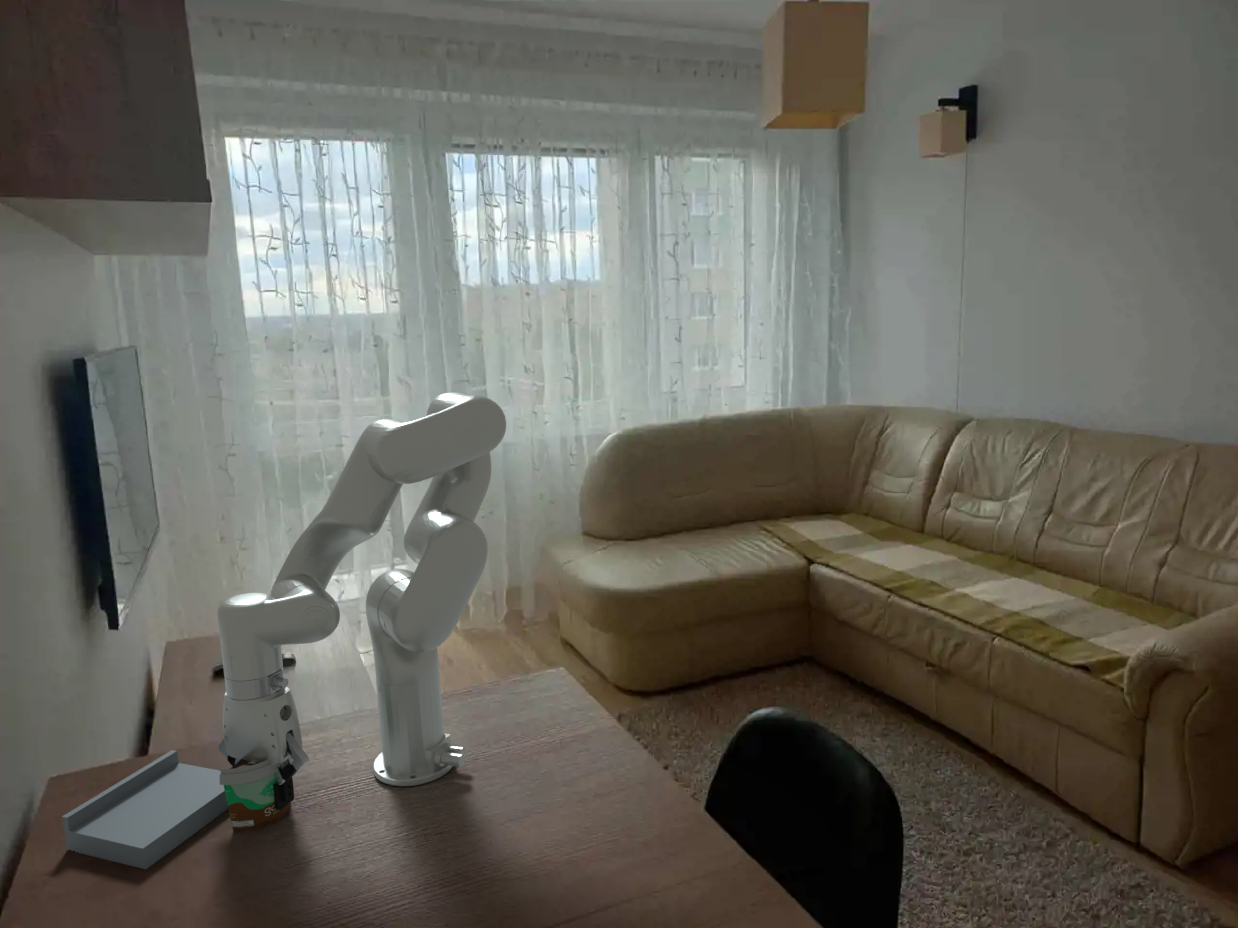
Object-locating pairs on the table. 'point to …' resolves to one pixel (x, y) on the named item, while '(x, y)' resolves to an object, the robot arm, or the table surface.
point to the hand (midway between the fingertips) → (267, 799)
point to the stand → (146, 813)
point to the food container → (252, 794)
